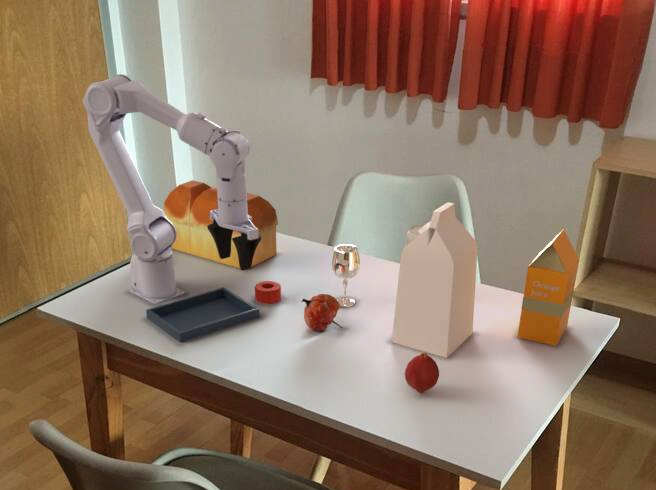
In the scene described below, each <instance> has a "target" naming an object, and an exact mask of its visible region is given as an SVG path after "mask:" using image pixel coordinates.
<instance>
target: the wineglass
mask: <svg viewBox="0 0 656 490" xmlns="http://www.w3.org/2000/svg"><path fill="white" fill-rule="evenodd" d="M360 259H361V258H360V252H359V248H358V247H357V246H356V245H353V244H339V245H337V246H335V247H334V250H333V254H332V258H331V268H332V272H333V274H334V275H335V276H336V277H338V278H340V279H343V281H342V285H343V297H339V298H336V299H337V301H338V302H339V304H340V308H341V307H342V308H350V307H353V306H355V304H356V300H354V299H353V298H350V297H347V287H348V284H349V281H348V280H349V279H352V278H354V277H355V276H357V275H358V273H359V271H360V267H361V260H360Z"/></svg>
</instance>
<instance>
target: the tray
mask: <svg viewBox="0 0 656 490" xmlns="http://www.w3.org/2000/svg"><path fill="white" fill-rule="evenodd" d="M145 314H146V319H147V320H149V321H150V322H151V323H153V324H154V325H156V326H157V327H158V328H160V329H161V330H162V331H164V332H165V333H166V334H168V335H169V336H171V338H173V339H175V340H176V341H178V342H179V343H183V342H186V341H189V340H190V341H191V340H192V339H196V338H199V337H202V336H205V335H208V334H212V333H214V332H217V331H221V330H224V329H227V328H230V327H233V326H237V325H240V324H242V323H246V322H249V321H251V320H255V319H258V318H260V315H261V313H260V308H259V307H257V306H256V305H254V304H252V303H250V302H249V301H248V300H245V299H244V298H242V297H241V296H239V295H238V294H236V293H234V292H232V291H231V290H229V289H227V288H225V287H224V286H223V287H219V288H216V289H212V290H209V291H206V292H202V293H199V294H195V295H192V296H188V297H185V298H182V299H178V300H174V301H170V302H168V303H165V304H161V305H157V306H154V307H151V308H146V309H145Z"/></svg>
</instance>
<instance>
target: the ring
mask: <svg viewBox="0 0 656 490" xmlns="http://www.w3.org/2000/svg"><path fill="white" fill-rule="evenodd" d="M281 293H282V287H281V284H280V283H279V282H278V281H277V282H276V281H274V280H264V281H263V280H262V281H258V282H257V283H255V285H254V300H255V301H256V302H257V303H260V304H263V305H264V304H266V305H271V304H277V303H278V302H281V300H282V294H281Z"/></svg>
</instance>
